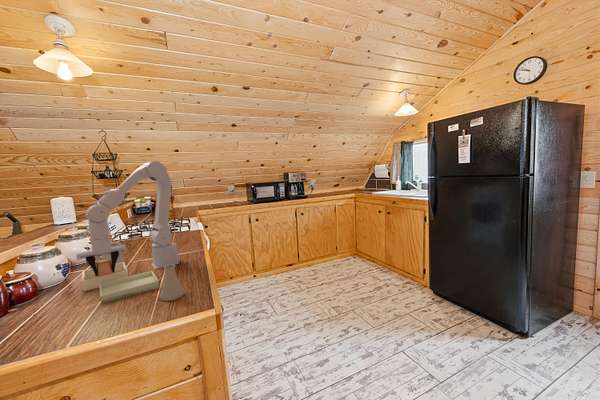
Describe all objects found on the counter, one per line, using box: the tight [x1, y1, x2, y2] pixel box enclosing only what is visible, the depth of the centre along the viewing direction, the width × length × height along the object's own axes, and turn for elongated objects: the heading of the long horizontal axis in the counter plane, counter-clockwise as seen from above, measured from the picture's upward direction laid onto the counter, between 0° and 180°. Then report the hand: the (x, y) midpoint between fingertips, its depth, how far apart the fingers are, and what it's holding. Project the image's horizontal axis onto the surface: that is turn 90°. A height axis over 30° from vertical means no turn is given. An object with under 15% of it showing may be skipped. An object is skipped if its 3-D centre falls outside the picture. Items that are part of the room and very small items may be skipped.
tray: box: [99, 270, 160, 305], centre depth 88 cm, size 16×12×2 cm
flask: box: [159, 264, 186, 302], centre depth 82 cm, size 7×7×10 cm
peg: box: [96, 259, 113, 277], centre depth 96 cm, size 4×4×7 cm
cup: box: [95, 242, 124, 264], centre depth 113 cm, size 7×10×9 cm
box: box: [81, 261, 129, 292], centre depth 96 cm, size 13×13×4 cm
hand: (105, 273), depth 96 cm, fingers closed on peg, 4 cm apart
